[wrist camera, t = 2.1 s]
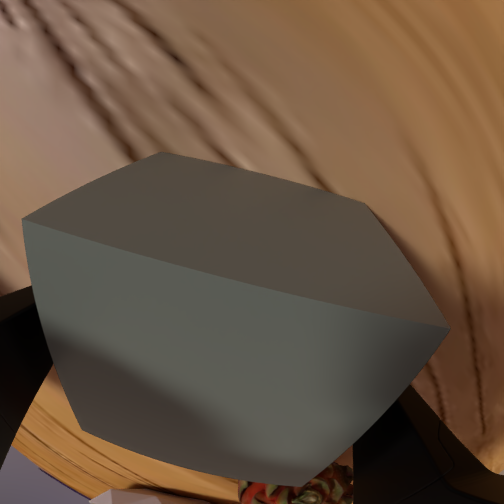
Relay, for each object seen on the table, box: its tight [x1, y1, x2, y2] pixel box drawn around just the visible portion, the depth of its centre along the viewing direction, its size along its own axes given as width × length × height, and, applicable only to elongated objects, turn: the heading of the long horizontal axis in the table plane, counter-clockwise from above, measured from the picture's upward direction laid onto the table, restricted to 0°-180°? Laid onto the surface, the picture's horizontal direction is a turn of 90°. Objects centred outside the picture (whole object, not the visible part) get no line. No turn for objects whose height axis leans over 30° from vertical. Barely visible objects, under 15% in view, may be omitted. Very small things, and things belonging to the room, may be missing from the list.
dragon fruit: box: [238, 462, 353, 504], centre depth 16 cm, size 8×8×12 cm
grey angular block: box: [22, 152, 451, 487], centre depth 9 cm, size 8×8×7 cm
